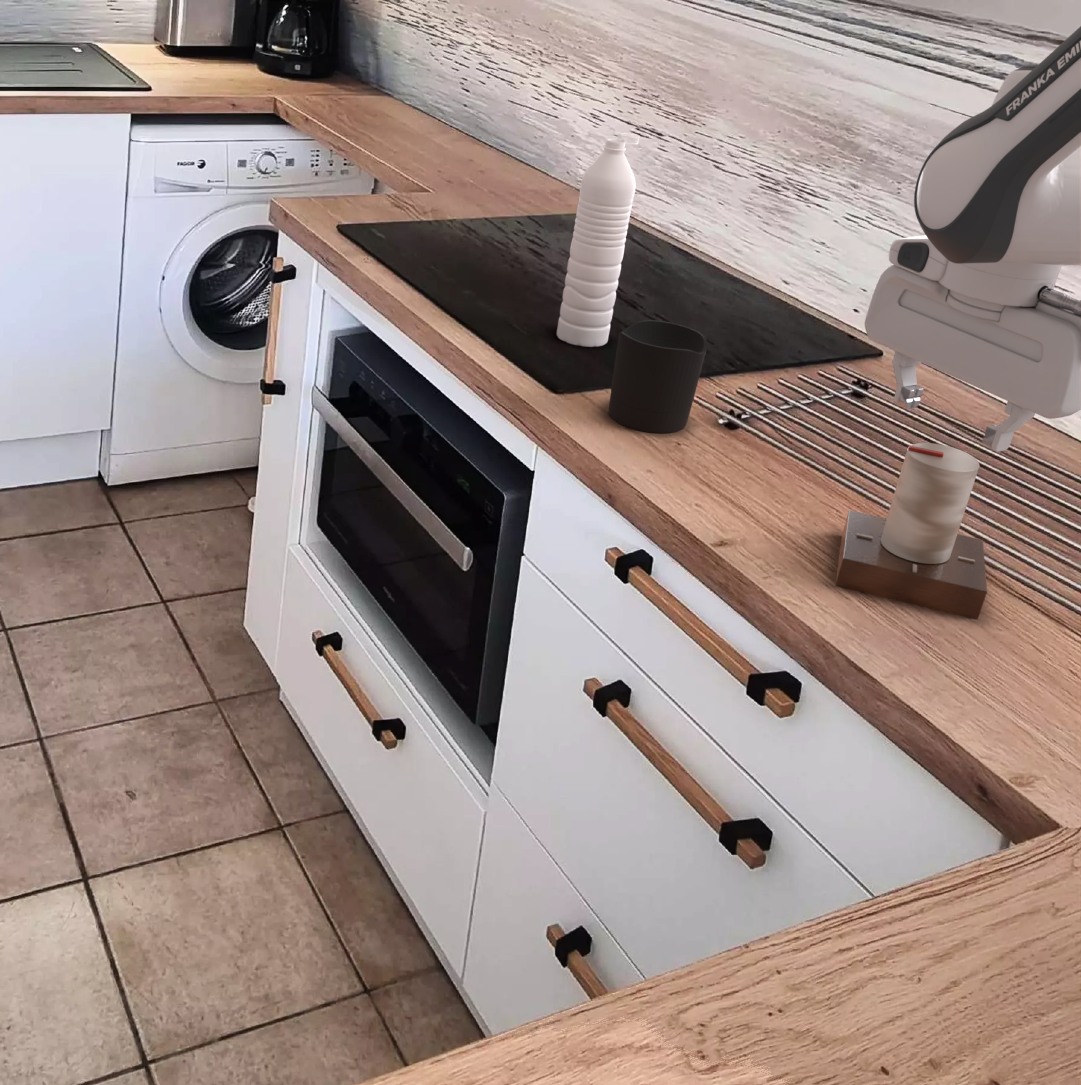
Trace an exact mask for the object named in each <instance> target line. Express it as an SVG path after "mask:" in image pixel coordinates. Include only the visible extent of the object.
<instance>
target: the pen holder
mask: <svg viewBox="0 0 1081 1085" xmlns="http://www.w3.org/2000/svg"><path fill="white" fill-rule="evenodd" d="M707 350H708V339H707V337H706V335H704V334H703V333H701V331H698V330H696V329H694V328H692V327H688V326H686V325H683V324H679V323H674V322H670V321H665V320H656V319H643V320H642V319H641V320H639V321H635V322H634V323H632V324H630V325H629V326H627V327H626V328H625V329H624V330H622V331H619V332H618V339H617V346H616V352H615V359H614V365H613V366H614V367H613V372H612V373H613V374H612V380H611V386H610V396H609V403H608V414H609V416H610V418H612V419H613V420H614V422H616V423H617V424H620V425H621V426H624V427H626V428H628V429H632V430H634V431H640V432H643V433H650V434H671V433H676V432H679V431H681V430H683V429H684V428H685V427H686V426H687V424H688V420H689V418H690V413H691V411H692V405H693V403H694V399H695V395H696V392H697V388H698V385H699V380H700V376H701V372H702V368H703V365H704V360H705V357H706V353H707Z"/></svg>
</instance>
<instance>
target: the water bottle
mask: <svg viewBox="0 0 1081 1085" xmlns="http://www.w3.org/2000/svg"><path fill="white" fill-rule="evenodd" d="M640 137H641V136H640V135H639V134H636V133H630V132H620V133H619V134H618V138H606V139H605V140H606V141H605V142H604V143H605V145H602V147H603V151H602V152H600V154H599V155H598V156H597V158H595V160H594V161H593V162H592V163H591V164H590V165H589V167H587V169H586V170H585V171H584V174H583V175H582V177H581V181H580V187H579V198H578V204H577V206H576V207H577V208H576V209H577V210H576V213H575V216H576V217H575V219H574V225H573V230H574V231H573V232H572V239H571V243H570V247H569V248H570V249H569V258H568V260H567V265H566V270H567V273H566V275H565V278H564V285H565V286H564V288H563V291H562V302H561V304H560V309H559V317H558V320H557V329H556V336H557V338H558V339H559V340H561V341H563V342H566V344H570V345H574V346H580V347H586V348H587V347H589V348H594V347H596V348H597V347H602V346H604V345H606V344H607V343H608V341H609V335H610V331H611V322H612V320H613V314H614V306H615V302H616V298H617V292H616V291H617V290H618V286H619V278H620V275H621V271H622V261H623V258H624V254H625V248H626V245H625V243H626V242H627V238H626V237H627V234H628V229H629V223H630V216H631V214H632V212H631V211H632V209H633V208H632V207H633V202H634V198H635V194H636V187H637V186H636V185H637V184H636V183H637V182H636V177H635V174H634V172H633V170H632V167H631V165H630V163H629V161H628V159H627V156H626V154H625V151H627V148H626V145H627V146H638V145H639V143H640Z"/></svg>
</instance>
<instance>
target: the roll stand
mask: <svg viewBox="0 0 1081 1085" xmlns="http://www.w3.org/2000/svg"><path fill="white" fill-rule="evenodd" d="M847 512H848V513H847V516H846V520H845V523H844V526H843V530H842V533H841V538H840V546H839V555H838V563H837V568H836V569H837V570H836V578H835V584H834V585H835V587H839V588H843V589H848V590H851V591H856V592H860V593H863V594H869V595H872V596H877V597H880V598H886V599H888V600H889V599H890V600H894V601H898V602H902V603H907V604H910V605H914V606H920V607H922V608H928V609H932V610H935V611H940V612H944V613H947V614H948V613H949V614H952V615H956V616H960V617H965V618H969V619H973V620H979V617H980V614H981V611H982V608H983V606H984V603H985V600H986V597H987V594H988V586H987V575H986V561H985V560H986V559H985V548H984V539H981V538H977V537H972V536H967V535H963V534H957V537H956V540H955V543H954V546H953V550H952V553H951V556H950V558H949V559H948V560H947V561H946V562H943V563H939V564H924V563H918V562H913V561H910V560H906V559H904V558H901V557H899V556H896V555H895V554H893V553H891V552H889V551H888V550H887V549H886V548H885V547H884V546H883V545H882V543H881V537H882V533H883V530H884V527H885V523H886V520H887V517H884V516H883V517H882V516H879V515H878V516H877V515H873V514H869V513H865V512H859V511H856V510H851V509H850V510H848V511H847Z"/></svg>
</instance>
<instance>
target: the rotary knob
mask: <svg viewBox="0 0 1081 1085" xmlns="http://www.w3.org/2000/svg"><path fill="white" fill-rule="evenodd" d="M979 469H980V462H979V461H978V459H977V458H976V457H975V456H973V455H971V454H970V453H968V452H966V451H964V450H961V449H958V448H956V447H952V446H949V445H945V444H939V443H934V442H917V443H912V444H909V445H908V447H907V449H906V451H905V455H904V458H903V462H902V466H901V469H900V472H899V473H900V474H899V476H898V480H897V482H896V486H895V490H894V492H893V497H892V500H891V503H890V506H889V510H888V512H887V516H886V518H887V520H886V523H885V527H884V530H883V533H882V537H881V543H882V545H883V546H884V547H885V548H886V549H887V550H888V551H889V552H891V553H893V554H895V555H896V556H899V557H901V558H904V559H906V560H910V561H913V562H918V563H924V564H939V563H943V562H946V561H947V560H948V559H949V558H950V556H951V553H952V550H953V546H954V543H955V540H956V537H957V534H958V533H959V531H960V528H961V525H962V521H963V518H964V516H965V513H966V510H967V507H968V503H969V500H970V496H971V494H972V490H973V488H974V486H975V485H974V484H975V481H976V479H977V476H978V472H979Z"/></svg>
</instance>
